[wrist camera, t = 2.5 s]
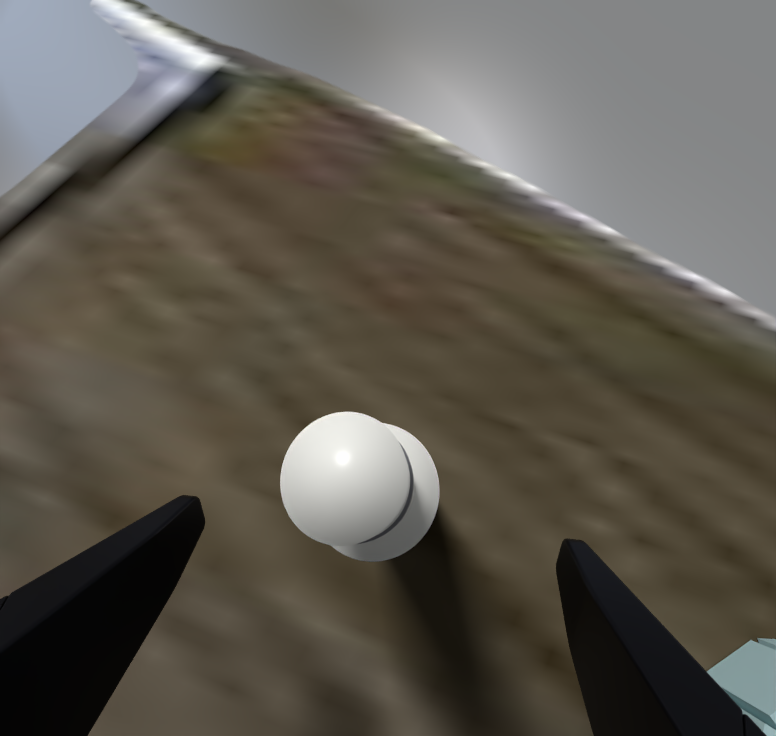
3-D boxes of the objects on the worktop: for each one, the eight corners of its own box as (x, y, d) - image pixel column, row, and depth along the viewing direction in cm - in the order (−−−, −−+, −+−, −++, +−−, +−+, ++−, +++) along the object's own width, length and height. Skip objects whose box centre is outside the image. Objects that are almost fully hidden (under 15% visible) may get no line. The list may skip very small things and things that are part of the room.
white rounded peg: (411, 551, 17) (376, 646, 5) (351, 511, 17) (202, 512, 6) (445, 486, 17) (484, 436, 6) (386, 451, 18) (318, 347, 7)
